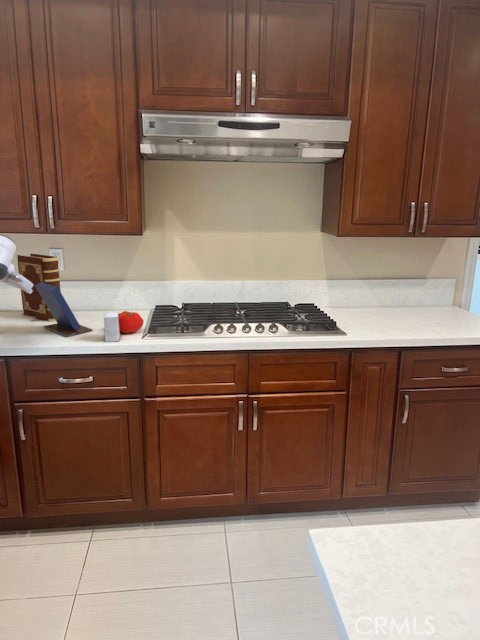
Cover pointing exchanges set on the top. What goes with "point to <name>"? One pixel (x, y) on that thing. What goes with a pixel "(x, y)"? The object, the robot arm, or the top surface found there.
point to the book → (57, 306)
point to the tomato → (129, 322)
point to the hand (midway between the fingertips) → (30, 291)
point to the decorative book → (36, 272)
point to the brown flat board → (67, 330)
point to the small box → (111, 327)
